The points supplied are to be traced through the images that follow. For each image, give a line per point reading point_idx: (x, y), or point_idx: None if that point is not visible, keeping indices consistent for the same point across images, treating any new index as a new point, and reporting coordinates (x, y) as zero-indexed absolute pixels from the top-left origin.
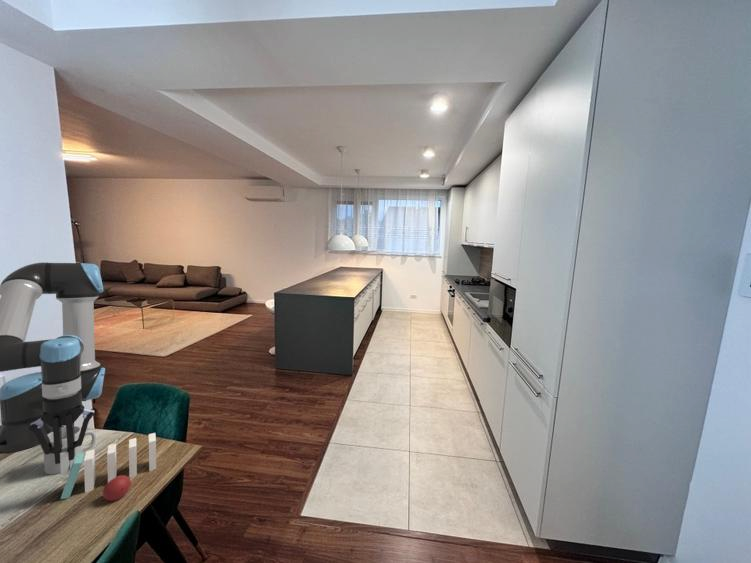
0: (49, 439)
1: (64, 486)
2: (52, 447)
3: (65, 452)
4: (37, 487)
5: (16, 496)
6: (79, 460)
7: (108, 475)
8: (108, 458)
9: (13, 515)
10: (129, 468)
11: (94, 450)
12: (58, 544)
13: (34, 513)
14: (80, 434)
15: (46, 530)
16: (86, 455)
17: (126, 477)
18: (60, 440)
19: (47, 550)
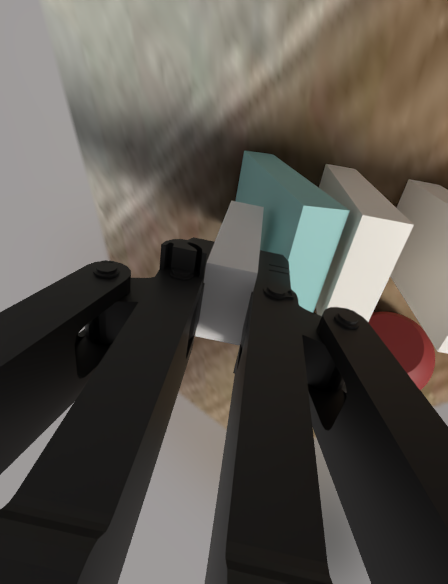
0: (52, 330)
1: (245, 158)
2: (126, 320)
3: (227, 339)
4: (149, 28)
5: (83, 45)
6: (302, 296)
7: (391, 276)
8: (430, 330)
9: (107, 196)
10: None
11: (409, 221)
12: (223, 399)
13: (164, 236)
14: (348, 493)
15: (199, 338)
16: (347, 275)
17: (426, 383)
18: (170, 406)
19: (204, 399)
